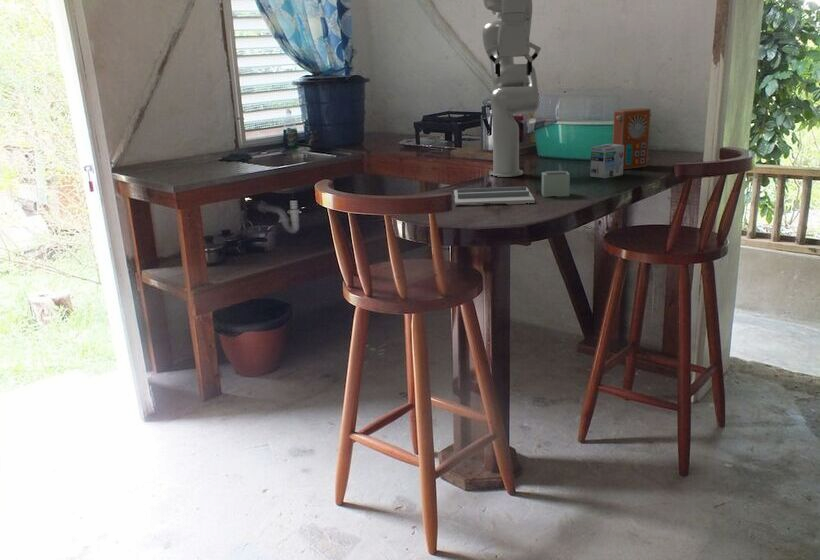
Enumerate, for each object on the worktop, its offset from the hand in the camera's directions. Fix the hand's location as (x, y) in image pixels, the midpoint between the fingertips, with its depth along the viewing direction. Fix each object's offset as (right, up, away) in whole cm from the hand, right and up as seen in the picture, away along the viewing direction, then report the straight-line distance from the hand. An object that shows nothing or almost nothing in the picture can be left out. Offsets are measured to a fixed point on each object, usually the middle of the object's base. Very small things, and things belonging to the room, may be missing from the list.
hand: (513, 75), depth 225 cm
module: (+13, -39, -5) cm, 42 cm away
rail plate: (-7, -41, -6) cm, 42 cm away
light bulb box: (+37, -29, +23) cm, 52 cm away
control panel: (+50, -24, +38) cm, 67 cm away
